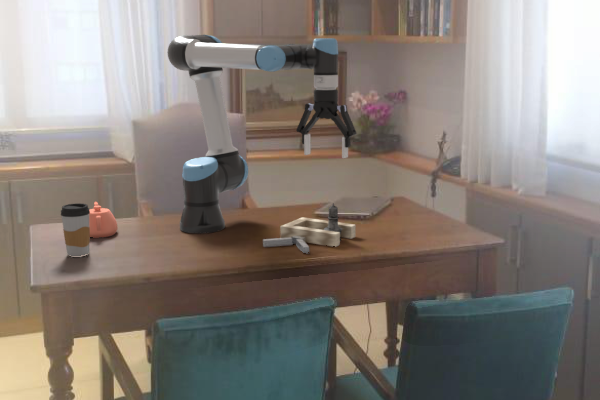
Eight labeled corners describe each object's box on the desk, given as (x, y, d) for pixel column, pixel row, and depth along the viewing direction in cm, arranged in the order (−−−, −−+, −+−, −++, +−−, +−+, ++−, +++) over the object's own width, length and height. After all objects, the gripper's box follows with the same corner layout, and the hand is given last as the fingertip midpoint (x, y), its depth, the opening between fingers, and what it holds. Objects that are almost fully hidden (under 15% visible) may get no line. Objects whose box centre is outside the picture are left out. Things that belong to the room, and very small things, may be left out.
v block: (277, 239, 238) (277, 233, 238) (323, 246, 230) (323, 240, 229) (260, 246, 230) (260, 240, 229) (307, 254, 221) (307, 247, 221)
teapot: (80, 242, 237) (78, 213, 235) (79, 228, 253) (77, 201, 251) (119, 238, 240) (117, 210, 238) (116, 225, 257) (114, 198, 255)
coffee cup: (82, 249, 228) (78, 201, 225) (98, 254, 223) (95, 205, 220) (58, 255, 222) (54, 206, 219) (74, 260, 217) (70, 210, 214)
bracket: (280, 238, 239) (280, 226, 238) (302, 228, 250) (302, 217, 249) (335, 246, 229) (335, 234, 228) (355, 236, 240) (355, 224, 239)
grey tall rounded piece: (340, 242, 233) (341, 205, 231) (322, 241, 234) (322, 204, 232) (343, 237, 239) (343, 201, 236) (325, 236, 240) (325, 200, 237)
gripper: (285, 88, 235) (286, 154, 239) (356, 90, 222) (355, 160, 227) (297, 86, 241) (298, 151, 246) (367, 89, 229) (366, 157, 233)
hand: (325, 156), depth 236 cm, fingers open, 13 cm apart
